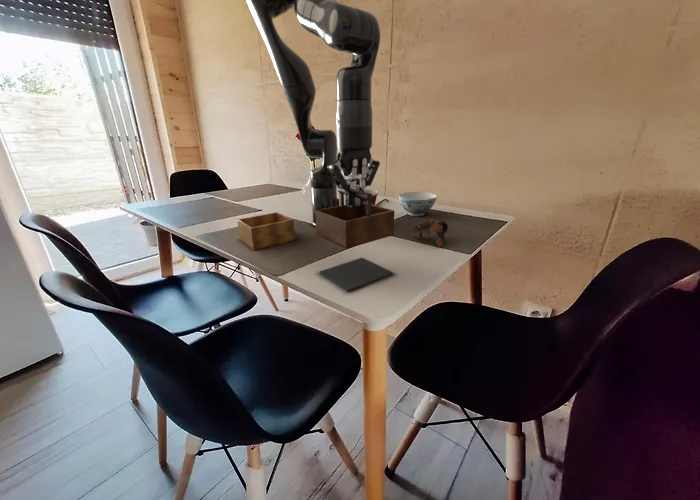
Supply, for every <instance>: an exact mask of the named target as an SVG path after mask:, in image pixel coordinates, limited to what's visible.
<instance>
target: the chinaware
mask: <svg viewBox="0 0 700 500" xmlns="http://www.w3.org/2000/svg"><path fill="white" fill-rule="evenodd" d="M398 200H399V203H400V205H401V207H402V209H404V210H405V211H406V212H407V214H408V215H409V216H411V217H422V216H425V213H427V212H429V210H431V209H432V208H433V206H434V205H435V203H436V200H437V195H436V194H434V193H431V192H426V191H406V192H400V193H399V194H398Z"/></svg>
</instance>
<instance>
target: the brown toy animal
mask: <svg viewBox="0 0 700 500" xmlns="http://www.w3.org/2000/svg"><path fill="white" fill-rule="evenodd" d="M431 229H432V230H433V231H434V232H435V233H436V235H437V237H438V239H436V240H435V244H436V246H437V248H440V247H442V246H443V245H445V244H446V238H445V237H446V236H445V234H447V232H448V229H449V224H448V223H447V222H446V221H445V220H440V221H438V222H436V221H435V219H433V218H432V219H428V220H425V221H423V222H421V223H420V224H419V226H418V225H416V226H415V227H413V228H412V231H413V233H412V236H413V238H415V237H417V238H418V239H421V238H422V237H423V234H426V235H430V234H431V231H430V230H431Z"/></svg>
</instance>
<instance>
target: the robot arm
mask: <svg viewBox="0 0 700 500" xmlns="http://www.w3.org/2000/svg"><path fill="white" fill-rule="evenodd" d="M244 1H245V3H246V6H247V8H248V10H249V13H250V15H251V17H252V20H253V22H254V23H255V26H256V28H257V30H258V31H259V34H260V36H261V38H262V40H263V41H262V42H263V43H264V45H265V47H266V49H267V52H268V54H269V57H270V59H271V62H272V65H273V68H274V70H275V73H276V75H277V78H278V81H279V84H280V86H281V90H282V91H283V94H284V96H285V98H286V100H287V104H288V106H289V108H290V111H291V113H292V117H293V119H294V123H295V125H296V128H297V131H298V135H299V139H300V142H301V145H302V148H303V151H304V153H305V155H306V156H307V157H308V158H310V159H322V163H321V165H320V166H318V167H315V168H312V169H311V170H310V172H309V178H310V180H309V181H310V192H311V193H310V194H311V210H312V211H311V212H312V213H311V214H312V226H313V227H315V228H316V215H315V210H320V209H326V208H331V207H336V206H340V198H339V197H338V188H341V189H344V190H345V194H344V204H345V205H347V206H348V207H351V208H353V207H355V205H357V206H362V205H363V202H364V199H360V198H356V197H355V191H354V190H358V191H362V192H364V190H365V189H366V188H367V187H371V185H372V183H373V181H374V179H375V178H376V174H377V172H378V170H379V167H380V165H381V163H380V160H375V159H373V158H372V153H371V149H372V146H373V107H372V77H373V73H374V70H375V66H376V62H377V57H378V53H379V48H380V44H381V28H380V24H379V21H378V18H377V17H376V16H375V15H374V14H373V13H372V12H370V11H366V10H364V9H360V8H356V7H353V6H350V5H347V4H343V3H340V2H339V1H337V0H244ZM289 10H294V14H295V17H296V20H297V22H298V23H299V25H300V26H301V27H302V28H303V29H304V30H305V31H306V32H308V33H310V34H312V35H314V36H316V37H317V38H320V39H321V40H322V42H324V43H325V44H326V45H327V46H328V47H330V48H331V49H333V50H336V51H338V52H342V53H347V54H352V56H351V62H350V65H348V66H345V67H342V68H339V70H338V71H337V73H336V80H335V81H336V84H335V85H336V110H335V125H336V128H335V129H336V133H335V131H333V130H332V129H314V127H313V124H312V119H311V115H312V110H313V107H314V104H315V99H316V93H317V92H316V91H317V90H316V86H315V82H314V78H313V75H312V73H311V69H310V67H309V65H308V64H307V62H306V61H305V60H304V59H303V58H302V57H301V56H300V55H299V54H298V53H296V52H295V50H293V49H292V48H291V47H289V46H288V44H286V42H285V41H284V40H283V39H282V38H281V36H280V34H279V33H278V31H277V28H276V27H275V24H274V21H273V20H274V19H277V18H278V17H280V16H282V15H283V14H286V13H287V12H288V11H289ZM341 171H342V172H341ZM383 202H388V203H389V199H388V198H383V199H382V200H380V201H379V202H377V203H375V205H376V206H380V204H382V203H383Z"/></svg>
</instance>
